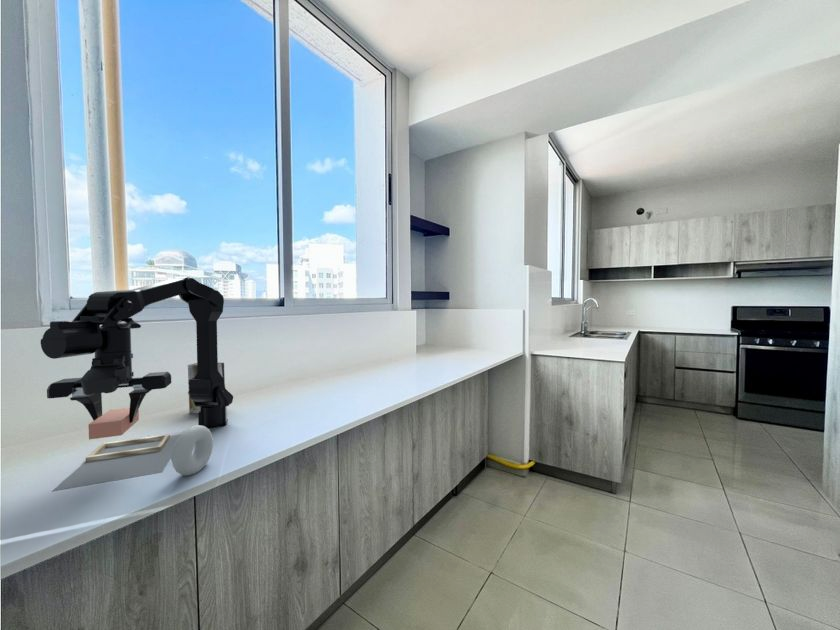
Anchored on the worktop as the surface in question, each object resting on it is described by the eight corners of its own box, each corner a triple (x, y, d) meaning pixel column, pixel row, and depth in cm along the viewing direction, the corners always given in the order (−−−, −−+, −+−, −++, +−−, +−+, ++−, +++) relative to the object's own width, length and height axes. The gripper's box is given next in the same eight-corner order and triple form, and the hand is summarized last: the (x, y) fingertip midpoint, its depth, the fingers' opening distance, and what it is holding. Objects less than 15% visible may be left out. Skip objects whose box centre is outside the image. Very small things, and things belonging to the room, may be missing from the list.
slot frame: (170, 437, 88) (170, 434, 88) (160, 450, 80) (160, 446, 80) (103, 447, 82) (102, 443, 82) (85, 462, 75) (85, 457, 75)
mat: (186, 435, 91) (186, 433, 91) (162, 474, 70) (162, 472, 70) (105, 446, 84) (104, 444, 84) (51, 493, 63) (51, 491, 63)
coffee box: (226, 409, 114) (225, 362, 113) (211, 415, 108) (209, 365, 107) (204, 407, 116) (203, 361, 115) (187, 413, 110) (186, 364, 109)
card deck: (138, 419, 77) (138, 406, 76) (121, 435, 67) (121, 420, 67) (110, 423, 74) (110, 409, 74) (89, 439, 65) (88, 424, 65)
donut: (202, 461, 76) (201, 418, 76) (217, 461, 76) (216, 418, 75) (167, 485, 66) (166, 435, 66) (184, 485, 66) (183, 435, 65)
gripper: (26, 360, 59) (30, 446, 60) (156, 353, 67) (158, 430, 68) (61, 351, 69) (64, 426, 70) (171, 346, 77) (172, 413, 78)
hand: (115, 424), depth 71 cm, fingers closed on card deck, 5 cm apart
